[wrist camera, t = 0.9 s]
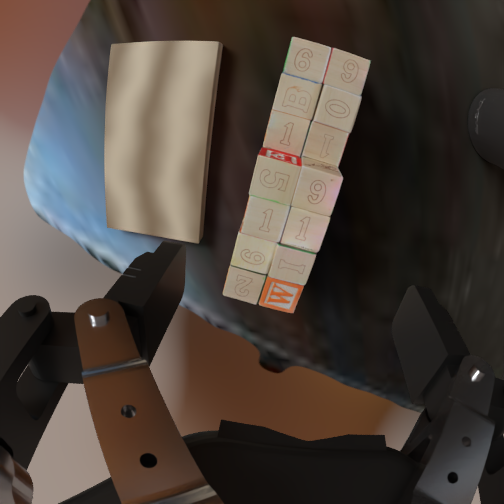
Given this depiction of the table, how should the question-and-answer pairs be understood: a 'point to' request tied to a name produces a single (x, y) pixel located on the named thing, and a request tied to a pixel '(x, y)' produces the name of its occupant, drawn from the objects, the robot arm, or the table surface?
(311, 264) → the stack of blocks
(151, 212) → the birch board
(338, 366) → the table surface
